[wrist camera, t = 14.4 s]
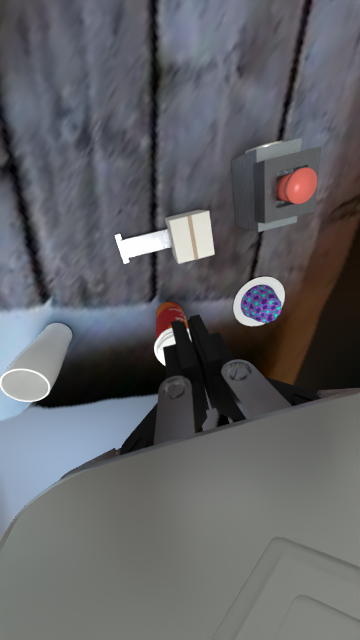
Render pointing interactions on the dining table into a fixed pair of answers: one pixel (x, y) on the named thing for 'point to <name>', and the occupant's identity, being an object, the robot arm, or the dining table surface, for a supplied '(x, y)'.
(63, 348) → the drinking glass
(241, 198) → the cabinet
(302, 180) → the button
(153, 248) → the rail
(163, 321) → the paper cup
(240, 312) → the purple patterned hat
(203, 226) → the white taped box
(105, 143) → the dining table surface
